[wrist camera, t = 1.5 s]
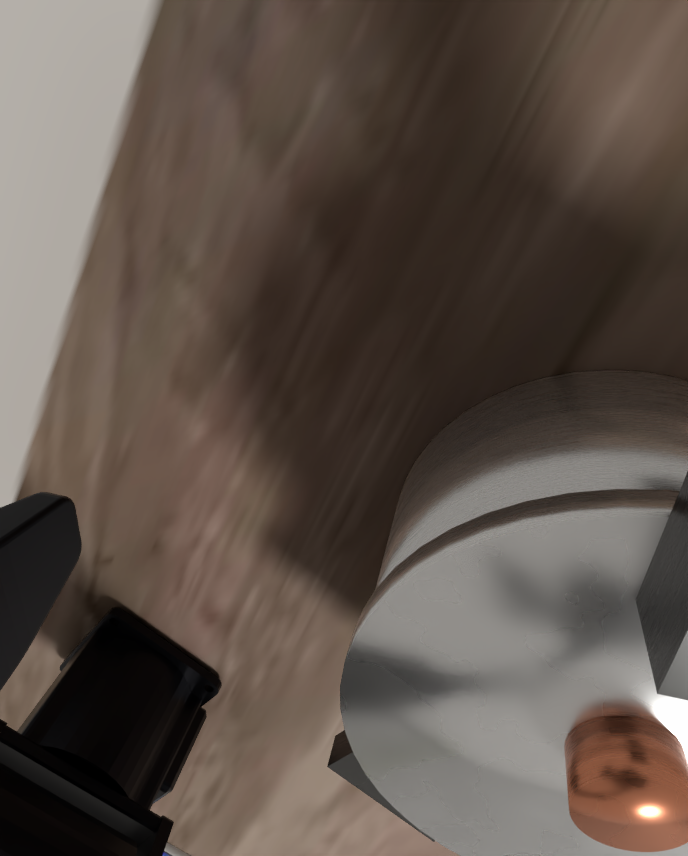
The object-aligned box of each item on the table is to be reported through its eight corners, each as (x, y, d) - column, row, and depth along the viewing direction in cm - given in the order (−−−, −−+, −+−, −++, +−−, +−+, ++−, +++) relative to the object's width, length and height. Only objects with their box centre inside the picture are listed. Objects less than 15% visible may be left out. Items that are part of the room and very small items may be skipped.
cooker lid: (800, 925, 19) (851, 1075, 17) (334, 801, 22) (307, 914, 19) (1408, 265, 9) (1826, 360, 6) (394, 165, 11) (355, 200, 9)
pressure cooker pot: (521, 756, 29) (523, 920, 23) (279, 573, 27) (219, 706, 21) (1263, 412, 16) (1655, 594, 11) (920, 5, 14) (1189, -32, 8)
